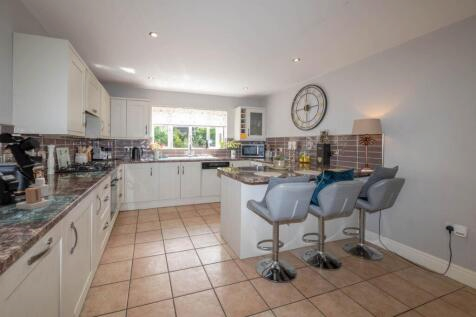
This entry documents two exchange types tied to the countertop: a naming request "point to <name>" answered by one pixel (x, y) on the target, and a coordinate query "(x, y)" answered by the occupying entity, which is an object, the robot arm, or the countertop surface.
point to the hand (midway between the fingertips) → (32, 180)
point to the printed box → (41, 186)
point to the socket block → (33, 205)
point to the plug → (33, 195)
